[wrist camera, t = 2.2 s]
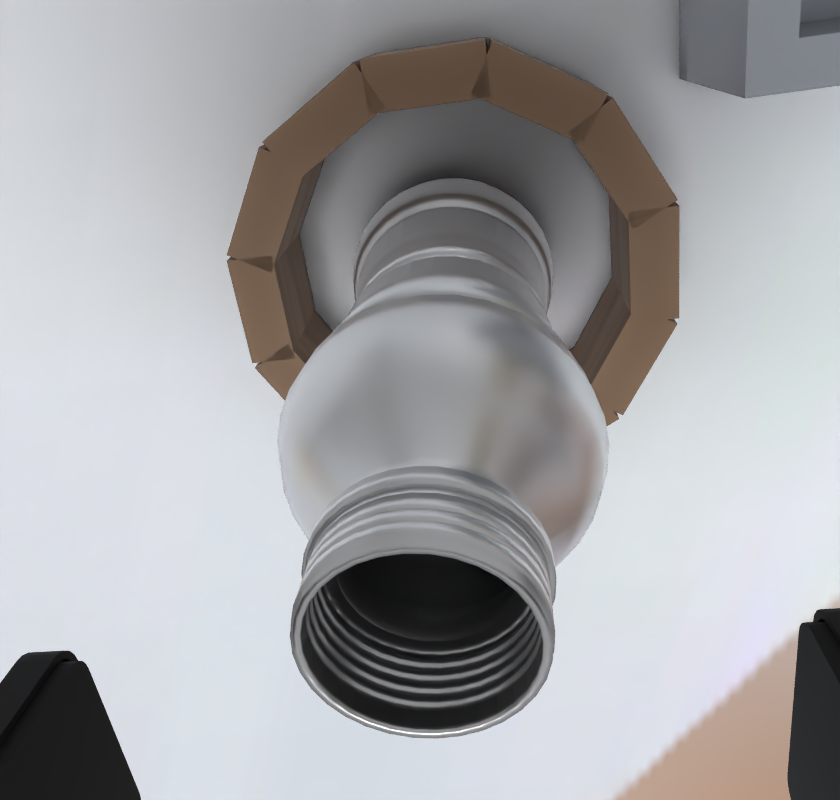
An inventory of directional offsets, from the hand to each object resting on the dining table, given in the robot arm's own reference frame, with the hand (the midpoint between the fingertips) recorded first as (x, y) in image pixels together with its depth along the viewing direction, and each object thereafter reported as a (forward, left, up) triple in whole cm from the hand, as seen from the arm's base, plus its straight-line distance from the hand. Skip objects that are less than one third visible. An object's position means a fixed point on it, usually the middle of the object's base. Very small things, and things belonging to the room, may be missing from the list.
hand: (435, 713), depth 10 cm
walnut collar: (0, 0, -21) cm, 21 cm away
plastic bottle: (0, 0, -21) cm, 21 cm away
